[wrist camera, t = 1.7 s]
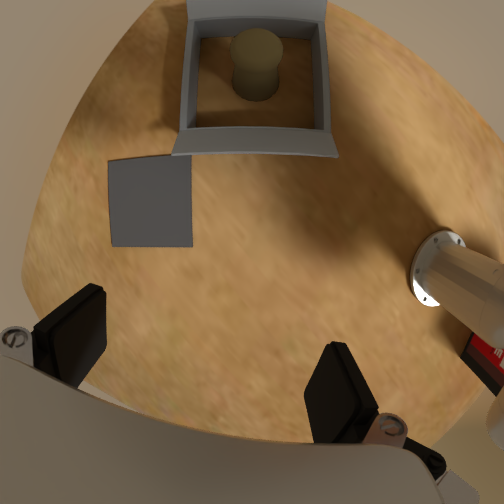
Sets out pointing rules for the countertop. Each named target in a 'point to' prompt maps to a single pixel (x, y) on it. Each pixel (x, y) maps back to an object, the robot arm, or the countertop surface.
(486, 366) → the cleaning product box
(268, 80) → the cork
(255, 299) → the countertop surface
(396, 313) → the countertop surface
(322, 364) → the robot arm
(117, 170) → the rubber mat
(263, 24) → the carton
